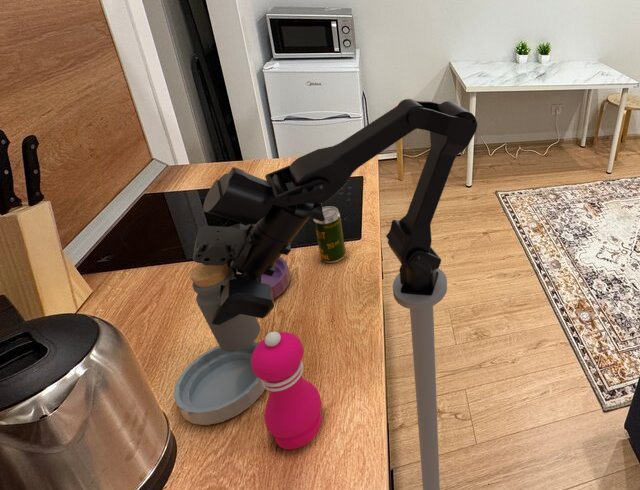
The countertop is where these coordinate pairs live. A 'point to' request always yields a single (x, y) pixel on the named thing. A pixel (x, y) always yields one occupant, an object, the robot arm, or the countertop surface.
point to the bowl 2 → (278, 277)
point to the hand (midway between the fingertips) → (215, 309)
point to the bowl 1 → (217, 386)
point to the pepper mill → (287, 390)
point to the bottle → (207, 287)
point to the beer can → (330, 235)
